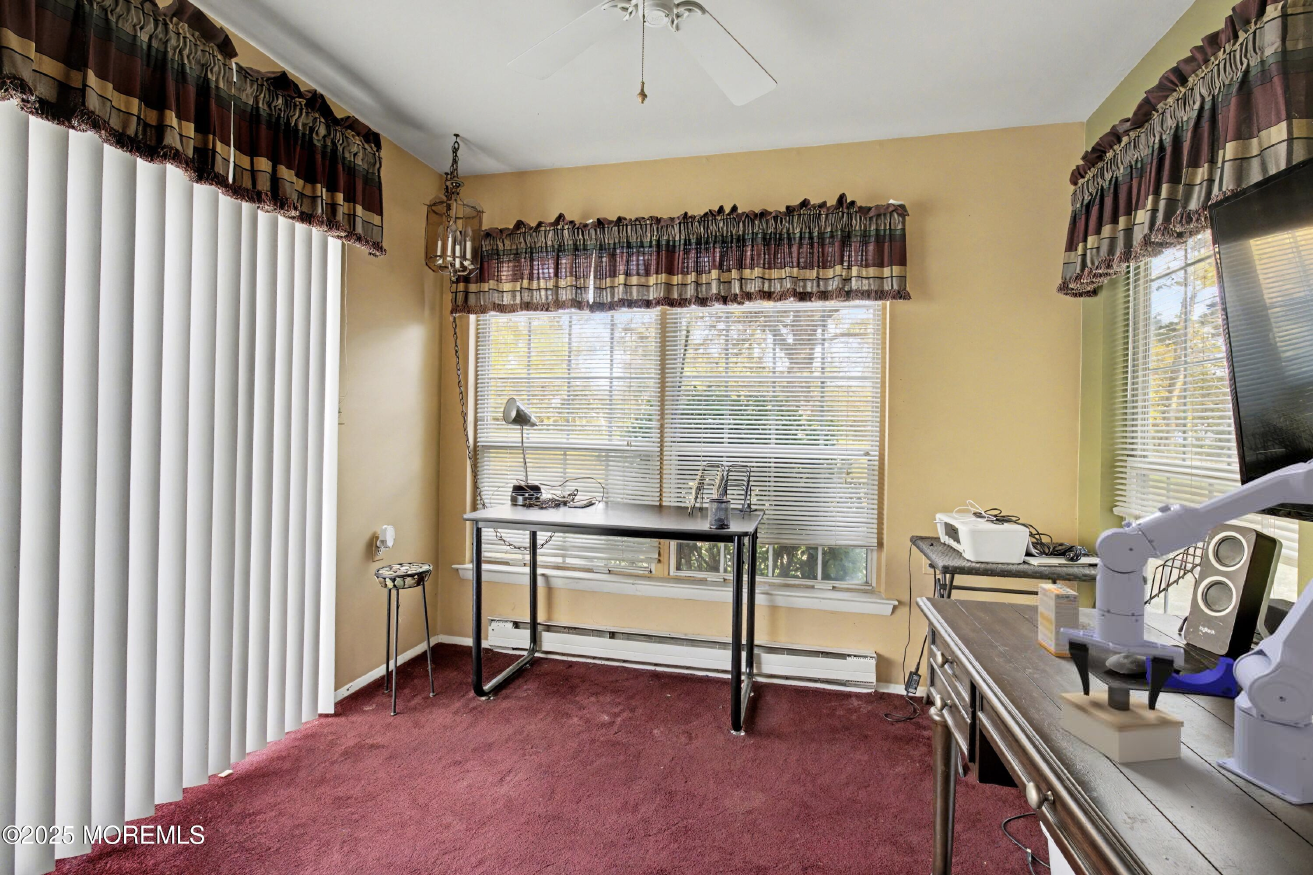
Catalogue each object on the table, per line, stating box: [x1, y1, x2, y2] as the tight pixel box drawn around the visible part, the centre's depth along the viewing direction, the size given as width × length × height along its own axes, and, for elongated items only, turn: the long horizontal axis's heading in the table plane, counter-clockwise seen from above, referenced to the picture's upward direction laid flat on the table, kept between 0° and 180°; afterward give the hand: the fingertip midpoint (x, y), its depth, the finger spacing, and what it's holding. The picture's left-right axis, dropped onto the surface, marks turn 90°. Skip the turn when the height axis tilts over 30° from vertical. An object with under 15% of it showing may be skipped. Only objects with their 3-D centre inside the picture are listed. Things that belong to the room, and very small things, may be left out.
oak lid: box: [1059, 682, 1185, 732], centre depth 90 cm, size 10×10×4 cm
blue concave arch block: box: [1145, 656, 1238, 699], centre depth 109 cm, size 12×4×6 cm, turn 63°
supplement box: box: [1037, 583, 1080, 658], centre depth 126 cm, size 8×5×13 cm, turn 168°
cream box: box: [1060, 700, 1182, 764], centre depth 90 cm, size 10×10×4 cm
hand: (1118, 700), depth 90 cm, fingers open, 7 cm apart
